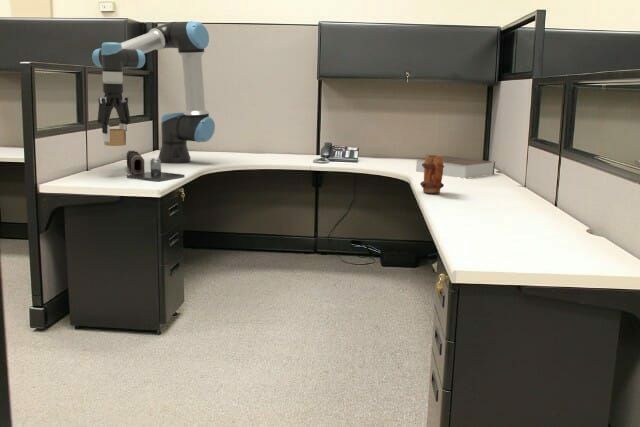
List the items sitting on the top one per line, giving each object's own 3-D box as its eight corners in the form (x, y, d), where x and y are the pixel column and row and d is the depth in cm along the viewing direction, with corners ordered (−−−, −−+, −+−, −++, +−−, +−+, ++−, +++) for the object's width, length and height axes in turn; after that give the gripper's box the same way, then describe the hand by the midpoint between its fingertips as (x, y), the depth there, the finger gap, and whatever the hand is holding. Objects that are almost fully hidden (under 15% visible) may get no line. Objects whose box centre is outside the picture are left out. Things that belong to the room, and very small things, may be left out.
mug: (417, 190, 252) (420, 152, 249) (438, 191, 253) (441, 152, 250) (427, 197, 238) (429, 156, 235) (448, 198, 239) (451, 157, 236)
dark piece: (154, 173, 273) (153, 155, 272) (184, 177, 266) (184, 158, 265) (126, 177, 259) (126, 158, 258) (158, 181, 252) (157, 162, 251)
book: (444, 168, 327) (445, 155, 325) (493, 175, 307) (495, 162, 306) (414, 172, 310) (415, 158, 309) (464, 180, 290) (466, 165, 289)
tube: (141, 172, 295) (149, 173, 267) (126, 176, 292) (133, 178, 265) (134, 149, 293) (142, 147, 265) (119, 152, 291) (126, 151, 263)
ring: (115, 143, 266) (114, 128, 265) (129, 144, 263) (129, 129, 261) (100, 144, 259) (99, 129, 258) (115, 146, 256) (114, 131, 254)
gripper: (124, 82, 267) (126, 138, 271) (85, 82, 249) (88, 142, 253) (138, 83, 263) (140, 139, 268) (99, 83, 245) (102, 143, 250)
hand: (115, 140), depth 261 cm, fingers closed on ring, 8 cm apart
